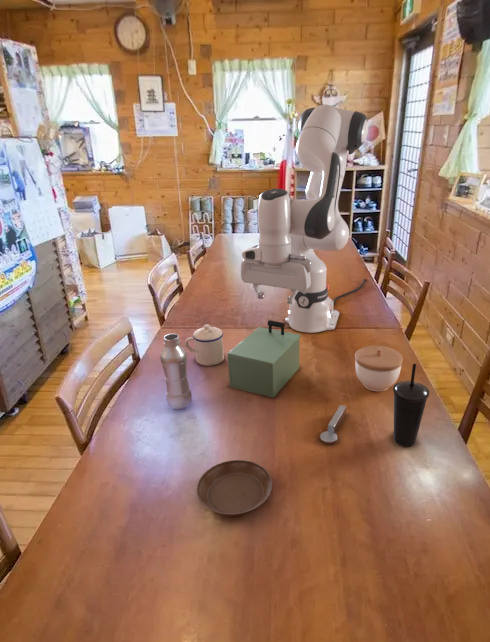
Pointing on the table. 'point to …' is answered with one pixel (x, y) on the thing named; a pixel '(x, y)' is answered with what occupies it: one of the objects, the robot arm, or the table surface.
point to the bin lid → (265, 344)
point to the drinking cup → (408, 409)
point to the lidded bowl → (378, 367)
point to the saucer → (234, 487)
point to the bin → (263, 373)
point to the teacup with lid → (207, 345)
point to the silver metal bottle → (175, 373)
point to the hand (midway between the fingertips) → (275, 300)
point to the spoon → (333, 427)
